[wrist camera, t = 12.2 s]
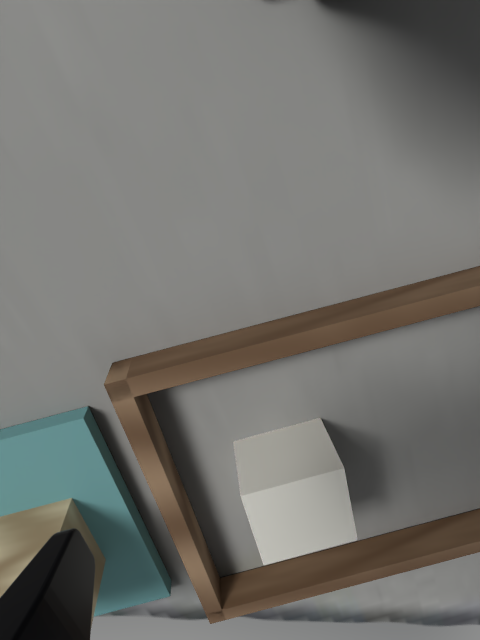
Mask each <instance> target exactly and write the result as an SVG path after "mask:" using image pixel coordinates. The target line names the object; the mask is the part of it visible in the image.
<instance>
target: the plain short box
mask: <svg viewBox="0 0 480 640" xmlns="http://www.w3.org/2000/svg"><path fill="white" fill-rule="evenodd" d="M233 444H234V451H235V458H236V466H237V473H238V481H239V488H240V495H241V499H242V502H243V505H244V508H245V511H246V514H247V517H248V520H249V523H250V526H251V529H252V532H253V535H254V538H255V541H256V544H257V547H258V550H259V553H260V556H261V559H262V562H263V565H267V564H271V563H275V562H278V561H282V560H286V559H289V558H293V557H297V556H300V555H304V554H308V553H311V552H315V551H319V550H322V549H326V548H330V547H333V546H337V545H341V544H344V543H348V542H352V541H355V540H357V534H356V529H355V523H354V518H353V512H352V507H351V502H350V496H349V491H348V485H347V480H346V474H345V469H344V466H343V464H342V462H341V460H340V458H339V456H338V454H337V452H336V450H335V447H334V445H333V443H332V441H331V439H330V437H329V435H328V433H327V431H326V429H325V427H324V425H323V422H322V420H321V418H317V419H314V420H310V421H306V422H303V423H299V424H295V425H292V426H288V427H284V428H281V429H277V430H273V431H270V432H266V433H262V434H259V435H255V436H251V437H247V438H244V439H240V440H236V441H233Z"/></svg>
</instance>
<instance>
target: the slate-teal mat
mask: <svg viewBox="0 0 480 640" xmlns="http://www.w3.org/2000/svg"><path fill="white" fill-rule="evenodd" d="M70 498H72V499H73V501H74V503H75V505H76V506H77V508H78V510H79V512H80V514H81V515H82V517H83V519H84V521H85V523H86V524H87V526H88V528H89V530H90V532H91V534H92V535H93V537H94V539H95V541H96V543H97V544H98V546H99V548H100V550H101V552H102V554H103V555H104V557H105V559H106V561H105V566H104V571H103V575H102V580H101V584H100V589H99V593H98V598H97V603H96V607H95V612H94V616H98V615H101V614H105V613H109V612H113V611H116V610H120V609H124V608H128V607H131V606H135V605H139V604H143V603H146V602H150V601H154V600H158V599H161V598H165V597H169V596H170V593H171V579H170V577H169V575H168V573H167V570H166V568H165V566H164V564H163V562H162V560H161V558H160V556H159V554H158V552H157V549H156V547H155V545H154V543H153V541H152V539H151V537H150V535H149V533H148V531H147V528H146V526H145V524H144V522H143V520H142V518H141V516H140V514H139V512H138V510H137V507H136V505H135V503H134V501H133V499H132V497H131V495H130V493H129V491H128V489H127V486H126V484H125V482H124V480H123V478H122V476H121V474H120V472H119V470H118V468H117V465H116V463H115V461H114V459H113V457H112V455H111V453H110V451H109V449H108V447H107V444H106V442H105V440H104V438H103V436H102V434H101V432H100V430H99V428H98V426H97V423H96V421H95V419H94V417H93V415H92V413H91V411H90V409H89V407H84V408H80V409H76V410H72V411H69V412H65V413H61V414H57V415H54V416H50V417H46V418H42V419H38V420H35V421H31V422H27V423H23V424H19V425H16V426H12V427H8V428H4V429H0V517H1V516H5V515H8V514H12V513H16V512H20V511H24V510H28V509H31V508H35V507H39V506H43V505H47V504H51V503H54V502H58V501H62V500H66V499H70ZM94 616H93V617H94Z"/></svg>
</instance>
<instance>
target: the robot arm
mask: <svg viewBox="0 0 480 640" xmlns="http://www.w3.org/2000/svg"><path fill="white" fill-rule="evenodd" d="M94 579H95V559H94V556H93V553H92V552H91V550H90V548H89V547H88V545H87V543H86V541H85V540H84V538H83V536H82V534H81V533H80V531H79V530H78V529H76V528H72V529H68V530H64V531H61V532H57V533H55V534H54V535H52V536H51V537H50V538H49V540H48V541H47V542H46V543H45V544H44V546H43V547H42V548H41V549H40V550H39V552H38V553H37V554H36V555H35V556H34V558H33V559H32V560H31V561H30V562H29V564H28V565H27V566H26V567H25V568H24V570H23V571H22V572H21V573H20V574H19V576H18V577H17V578H16V579H15V580H14V582H13V583H12V584H11V585H10V586H9V588H8V589H7V590H6V591H5V592H4V594H3V595H2V596H1V597H0V640H90V631H91V618H92V605H93V592H94Z"/></svg>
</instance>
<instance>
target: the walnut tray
mask: <svg viewBox="0 0 480 640" xmlns="http://www.w3.org/2000/svg"><path fill="white" fill-rule="evenodd" d="M477 306H480V266H478V267H474V268H471V269H467V270H463V271H459V272H455V273H452V274H448V275H444V276H440V277H436V278H433V279H429V280H425V281H421V282H417V283H414V284H410V285H406V286H402V287H398V288H395V289H391V290H387V291H383V292H380V293H376V294H372V295H368V296H364V297H361V298H357V299H353V300H349V301H345V302H342V303H338V304H334V305H330V306H326V307H323V308H319V309H315V310H311V311H307V312H304V313H300V314H296V315H292V316H288V317H285V318H281V319H277V320H273V321H269V322H266V323H262V324H258V325H254V326H250V327H247V328H243V329H239V330H235V331H231V332H228V333H224V334H220V335H216V336H212V337H209V338H205V339H201V340H197V341H194V342H190V343H186V344H182V345H178V346H175V347H171V348H167V349H163V350H159V351H156V352H152V353H148V354H144V355H140V356H137V357H133V358H129V359H125V360H121V361H118V362H114V363H112V365H111V368H110V370H109V373H108V375H107V378H106V381H105V383H104V386H105V388H106V390H107V393H108V395H109V397H110V399H111V402H112V404H113V406H114V408H115V411H116V413H117V415H118V417H119V420H120V422H121V424H122V426H123V429H124V431H125V433H126V435H127V438H128V440H129V442H130V444H131V447H132V449H133V451H134V453H135V456H136V458H137V460H138V462H139V465H140V467H141V469H142V471H143V474H144V476H145V478H146V480H147V483H148V485H149V487H150V489H151V492H152V494H153V496H154V498H155V501H156V503H157V505H158V507H159V510H160V512H161V514H162V516H163V519H164V521H165V523H166V525H167V528H168V530H169V532H170V534H171V537H172V539H173V541H174V543H175V546H176V548H177V550H178V552H179V555H180V557H181V559H182V561H183V564H184V566H185V568H186V570H187V573H188V575H189V577H190V579H191V582H192V584H193V586H194V588H195V591H196V593H197V595H198V597H199V600H200V602H201V604H202V606H203V608H204V611H205V613H206V615H207V617H208V620H209V622H210V624H212V623H216V622H219V621H223V620H227V619H231V618H234V617H238V616H242V615H246V614H250V613H253V612H257V611H261V610H264V609H268V608H272V607H276V606H279V605H283V604H287V603H291V602H294V601H298V600H302V599H306V598H309V597H313V596H317V595H320V594H324V593H328V592H332V591H335V590H339V589H343V588H347V587H350V586H354V585H358V584H362V583H365V582H369V581H373V580H377V579H380V578H384V577H388V576H391V575H395V574H399V573H403V572H406V571H410V570H414V569H418V568H421V567H425V566H429V565H433V564H436V563H440V562H444V561H448V560H451V559H455V558H459V557H462V556H466V555H470V554H474V553H477V552H480V509H477V510H473V511H470V512H466V513H462V514H458V515H455V516H451V517H447V518H443V519H440V520H436V521H432V522H428V523H425V524H421V525H417V526H413V527H410V528H406V529H402V530H398V531H395V532H391V533H387V534H383V535H380V536H376V537H372V538H368V539H365V540H361V541H357V542H353V543H350V544H346V545H342V546H338V547H335V548H331V549H327V550H323V551H320V552H316V553H312V554H308V555H305V556H301V557H297V558H294V559H290V560H286V561H282V562H279V563H275V564H271V565H267V566H264V567H260V568H256V569H252V570H249V571H245V572H241V573H237V574H234V575H230V576H226V577H222V578H220V577H219V574H218V572H217V569H216V567H215V564H214V562H213V559H212V557H211V554H210V552H209V549H208V547H207V544H206V542H205V539H204V537H203V534H202V532H201V529H200V527H199V524H198V522H197V519H196V517H195V514H194V511H193V509H192V506H191V504H190V501H189V499H188V496H187V494H186V491H185V489H184V486H183V484H182V481H181V479H180V476H179V474H178V471H177V469H176V466H175V464H174V461H173V459H172V456H171V454H170V451H169V449H168V446H167V444H166V441H165V439H164V436H163V434H162V431H161V429H160V426H159V423H158V421H157V418H156V416H155V413H154V411H153V408H152V406H151V403H150V401H149V398H148V396H147V394H148V393H151V392H155V391H159V390H163V389H167V388H170V387H174V386H178V385H182V384H185V383H189V382H193V381H197V380H201V379H204V378H208V377H212V376H216V375H220V374H223V373H227V372H231V371H235V370H239V369H242V368H246V367H250V366H254V365H257V364H261V363H265V362H269V361H273V360H276V359H280V358H284V357H288V356H292V355H295V354H299V353H303V352H307V351H310V350H314V349H318V348H322V347H326V346H329V345H333V344H337V343H341V342H345V341H348V340H352V339H356V338H360V337H363V336H367V335H371V334H375V333H379V332H382V331H386V330H390V329H394V328H398V327H401V326H405V325H409V324H413V323H417V322H420V321H424V320H428V319H432V318H435V317H439V316H443V315H447V314H451V313H454V312H458V311H462V310H466V309H470V308H473V307H477Z"/></svg>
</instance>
